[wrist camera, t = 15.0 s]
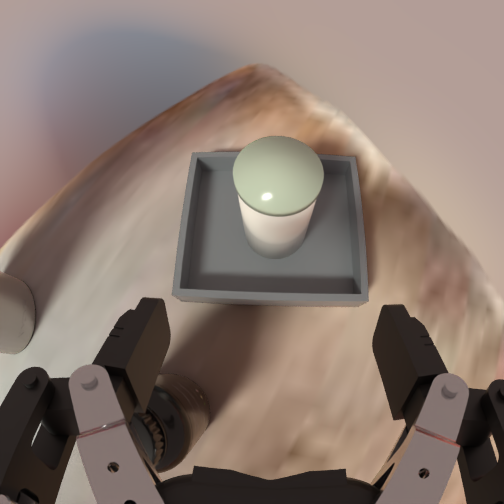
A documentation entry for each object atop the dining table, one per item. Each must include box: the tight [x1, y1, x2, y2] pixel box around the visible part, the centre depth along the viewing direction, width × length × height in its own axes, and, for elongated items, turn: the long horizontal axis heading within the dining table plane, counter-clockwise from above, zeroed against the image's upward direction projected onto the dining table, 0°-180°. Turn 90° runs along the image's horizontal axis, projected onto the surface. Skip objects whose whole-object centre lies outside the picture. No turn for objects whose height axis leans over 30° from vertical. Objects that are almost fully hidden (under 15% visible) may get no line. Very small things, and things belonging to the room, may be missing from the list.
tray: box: [172, 152, 369, 307], centre depth 28 cm, size 16×14×3 cm
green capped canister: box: [233, 136, 324, 259], centre depth 24 cm, size 6×6×10 cm
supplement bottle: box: [131, 374, 210, 473], centre depth 19 cm, size 7×7×12 cm
